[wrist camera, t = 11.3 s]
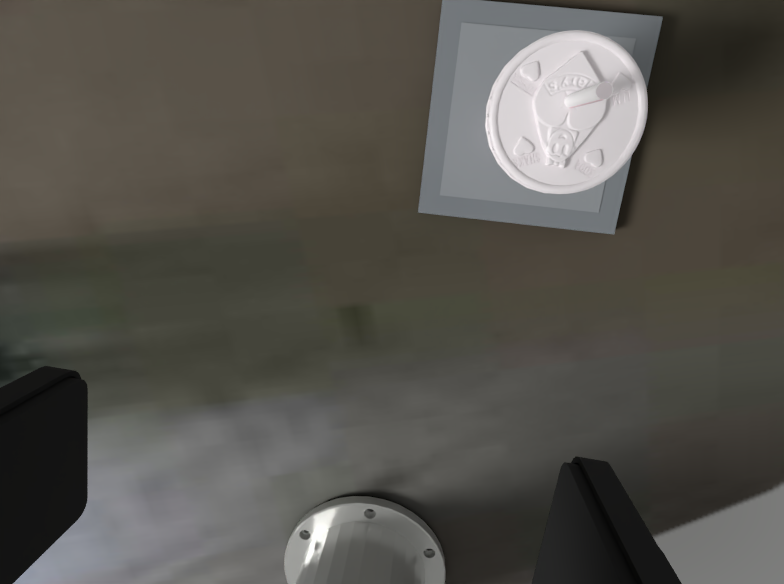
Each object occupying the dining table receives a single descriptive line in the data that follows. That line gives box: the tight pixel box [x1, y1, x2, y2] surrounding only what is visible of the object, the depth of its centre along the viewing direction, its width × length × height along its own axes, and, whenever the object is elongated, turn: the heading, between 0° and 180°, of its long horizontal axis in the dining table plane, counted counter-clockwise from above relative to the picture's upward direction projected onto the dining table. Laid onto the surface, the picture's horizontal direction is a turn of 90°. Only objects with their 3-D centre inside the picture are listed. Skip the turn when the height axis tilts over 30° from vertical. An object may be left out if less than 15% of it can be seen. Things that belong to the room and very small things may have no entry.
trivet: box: [418, 0, 663, 234], centre depth 31 cm, size 12×12×1 cm
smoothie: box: [485, 30, 648, 194], centre depth 23 cm, size 6×6×14 cm
